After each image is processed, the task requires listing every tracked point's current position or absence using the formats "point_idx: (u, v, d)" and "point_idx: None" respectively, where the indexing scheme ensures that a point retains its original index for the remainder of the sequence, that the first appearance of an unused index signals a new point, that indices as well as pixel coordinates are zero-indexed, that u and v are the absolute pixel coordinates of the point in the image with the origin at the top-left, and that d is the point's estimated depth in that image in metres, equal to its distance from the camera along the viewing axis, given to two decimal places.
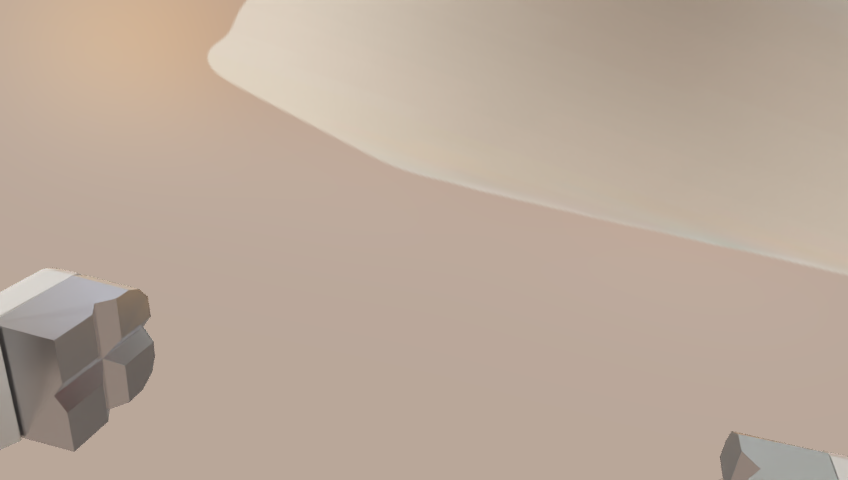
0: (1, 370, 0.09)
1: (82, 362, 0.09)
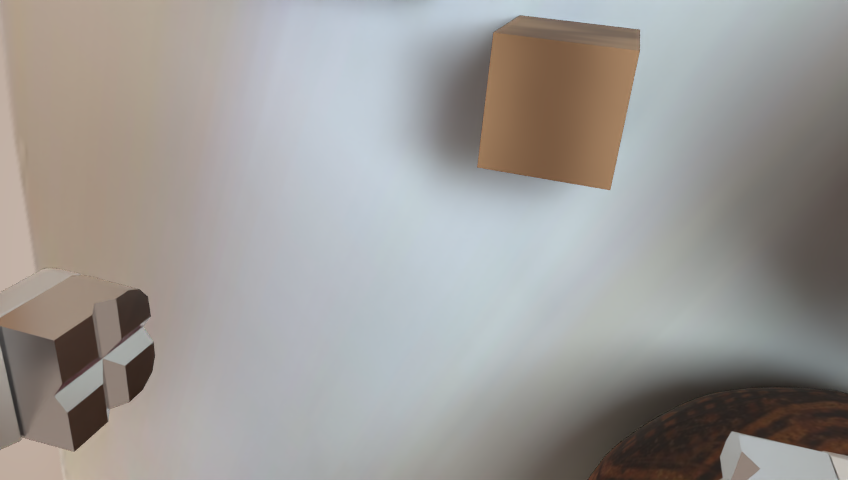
0: (1, 370, 0.09)
1: (82, 362, 0.09)
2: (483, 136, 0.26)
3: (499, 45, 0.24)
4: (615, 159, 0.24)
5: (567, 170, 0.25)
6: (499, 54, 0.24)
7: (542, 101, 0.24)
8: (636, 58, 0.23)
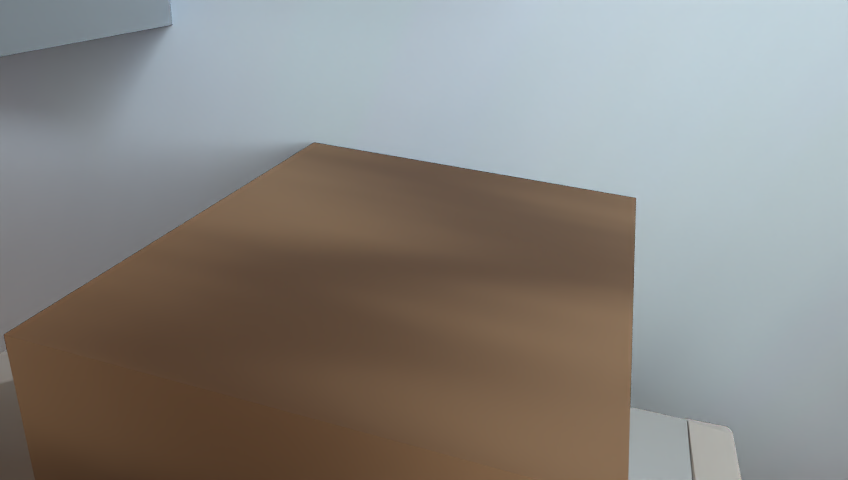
0: None
1: None
2: None
3: (38, 383, 0.06)
4: None
5: None
6: (47, 413, 0.06)
7: None
8: None
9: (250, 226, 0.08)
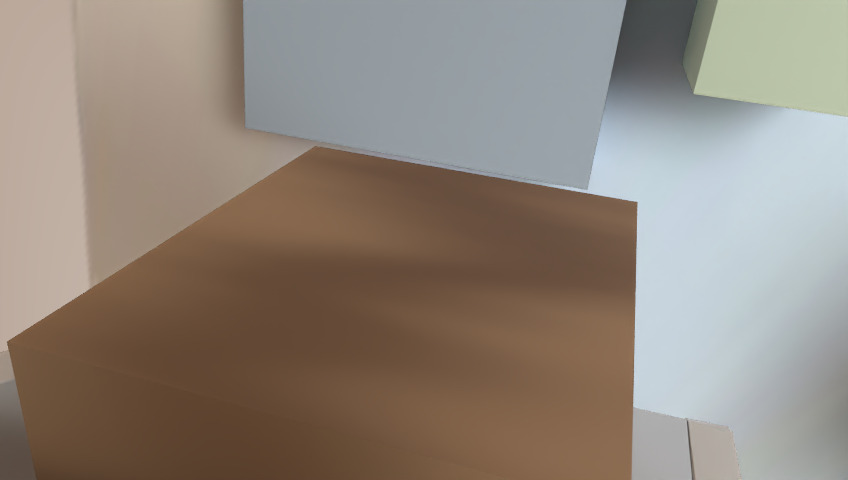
0: None
1: None
2: None
3: (41, 390, 0.06)
4: None
5: None
6: (50, 420, 0.06)
7: None
8: None
9: (252, 231, 0.08)
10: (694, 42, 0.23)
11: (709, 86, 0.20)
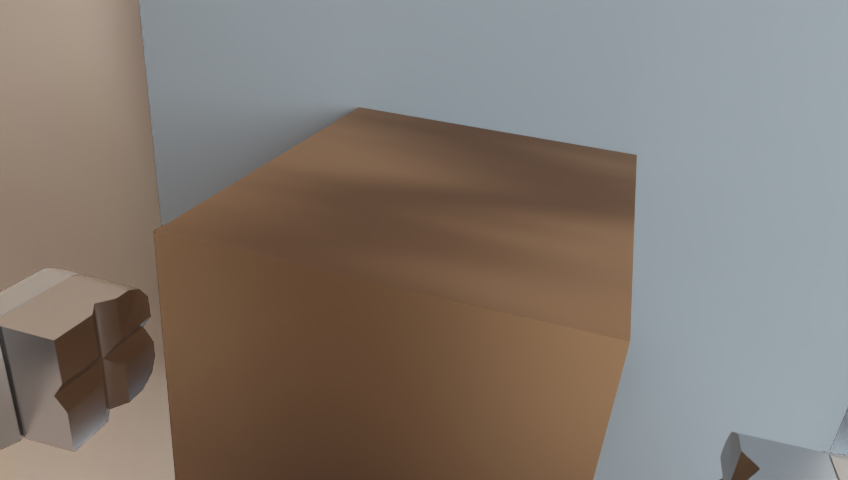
0: (1, 370, 0.09)
1: (82, 362, 0.09)
2: None
3: (177, 270, 0.07)
4: None
5: None
6: (181, 295, 0.08)
7: (325, 438, 0.08)
8: (618, 364, 0.06)
9: (321, 166, 0.10)
10: None
11: None
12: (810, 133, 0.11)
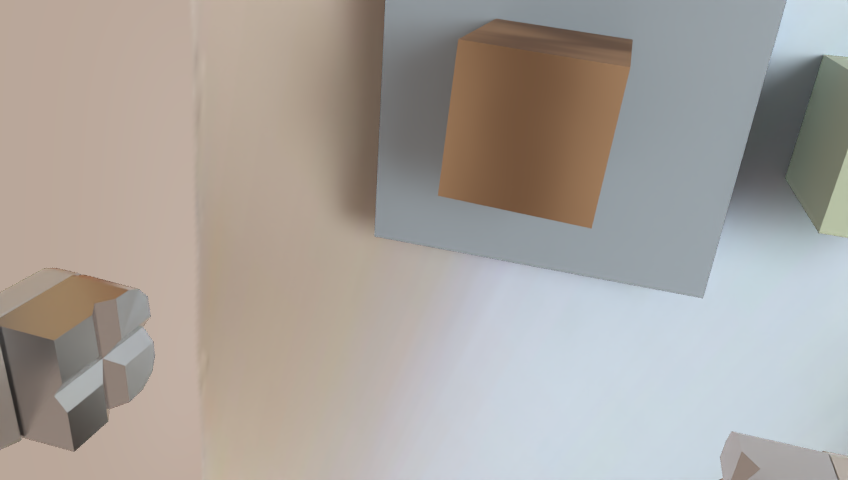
0: (1, 370, 0.09)
1: (82, 362, 0.09)
2: (445, 160, 0.22)
3: (465, 54, 0.20)
4: (598, 193, 0.21)
5: (542, 203, 0.21)
6: (464, 65, 0.20)
7: (514, 122, 0.21)
8: (626, 76, 0.19)
9: (498, 31, 0.22)
10: (807, 172, 0.25)
11: (834, 227, 0.23)
12: (715, 26, 0.23)
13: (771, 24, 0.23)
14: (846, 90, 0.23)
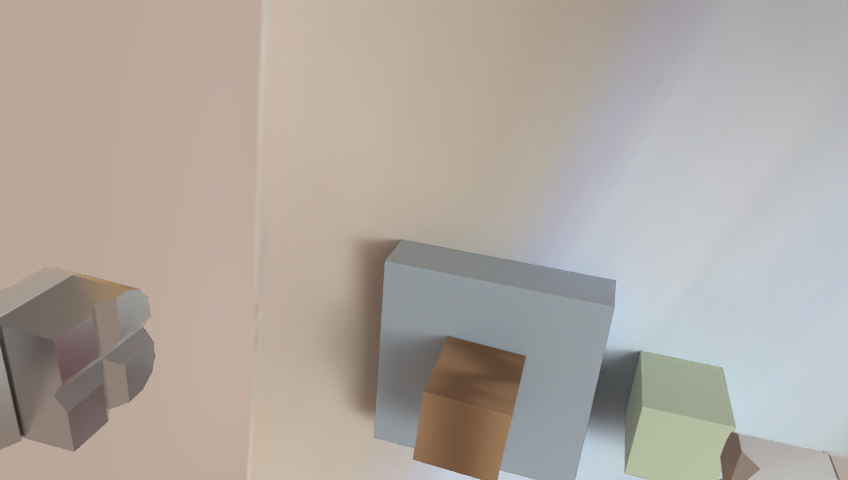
0: (1, 370, 0.09)
1: (82, 362, 0.09)
2: (417, 443, 0.39)
3: (427, 398, 0.38)
4: (498, 468, 0.39)
5: (469, 469, 0.39)
6: (427, 402, 0.38)
7: (454, 431, 0.38)
8: (510, 419, 0.37)
9: (447, 367, 0.40)
10: (628, 424, 0.43)
11: (632, 471, 0.40)
12: (569, 352, 0.41)
13: (598, 355, 0.41)
14: (639, 394, 0.41)
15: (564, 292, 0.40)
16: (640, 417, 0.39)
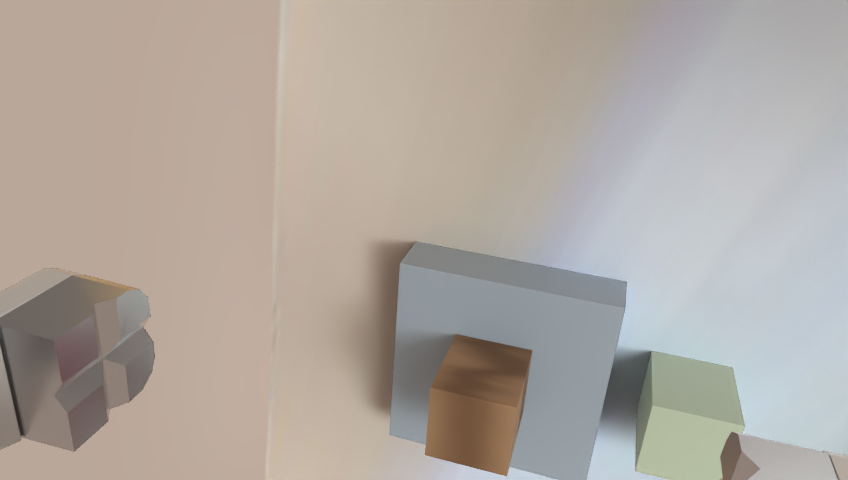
0: (1, 370, 0.09)
1: (82, 362, 0.09)
2: (427, 439, 0.41)
3: (434, 394, 0.39)
4: (508, 460, 0.39)
5: (480, 463, 0.40)
6: (434, 398, 0.39)
7: (462, 426, 0.39)
8: (515, 411, 0.38)
9: (454, 363, 0.41)
10: (639, 422, 0.44)
11: (642, 469, 0.41)
12: (580, 353, 0.42)
13: (610, 355, 0.42)
14: (650, 392, 0.41)
15: (576, 293, 0.41)
16: (650, 415, 0.40)
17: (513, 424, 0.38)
